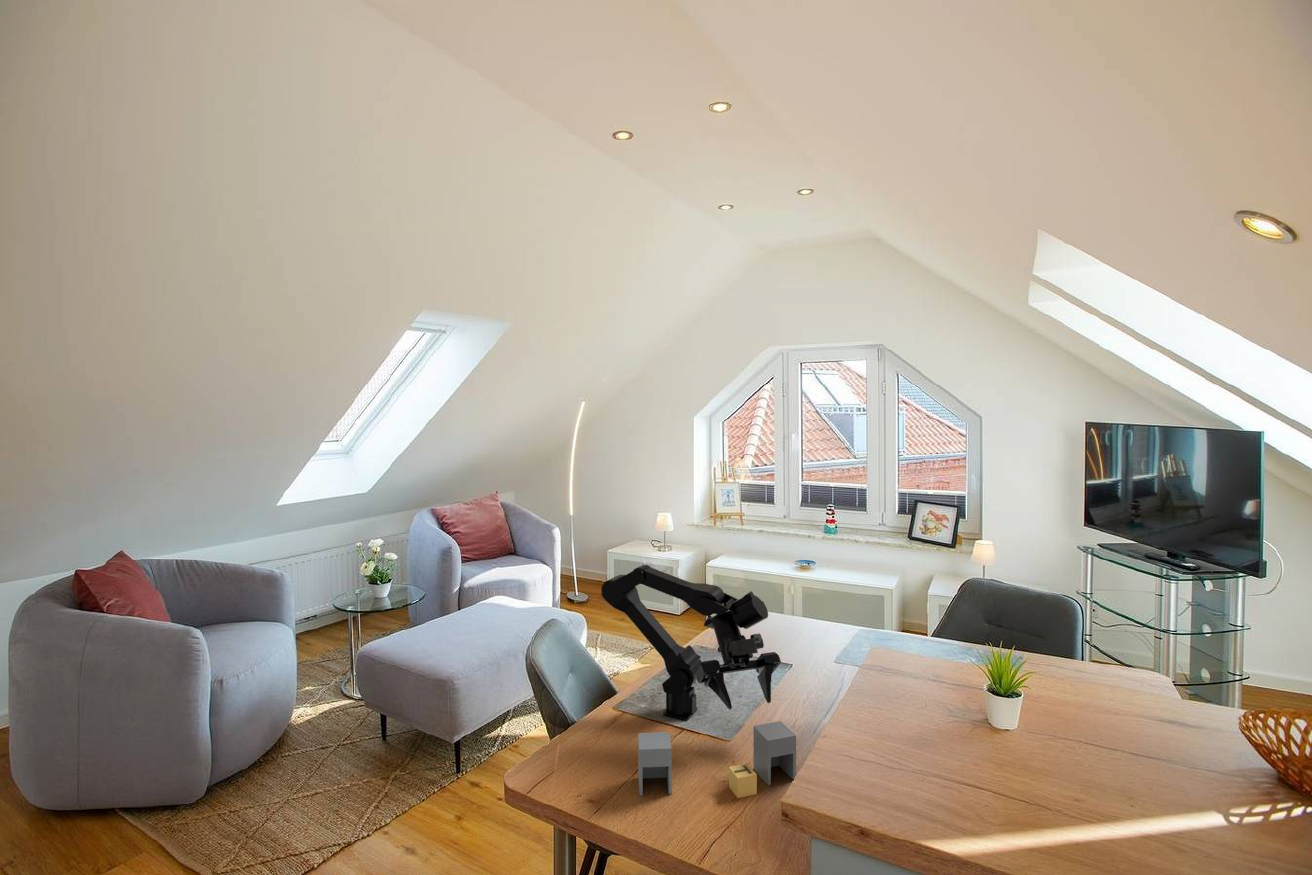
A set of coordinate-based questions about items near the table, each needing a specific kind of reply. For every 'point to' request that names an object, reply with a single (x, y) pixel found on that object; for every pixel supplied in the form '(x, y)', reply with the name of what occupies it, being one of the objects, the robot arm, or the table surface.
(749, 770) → the ochre cube
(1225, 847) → the table surface
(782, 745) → the charcoal cover
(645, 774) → the slate cover
